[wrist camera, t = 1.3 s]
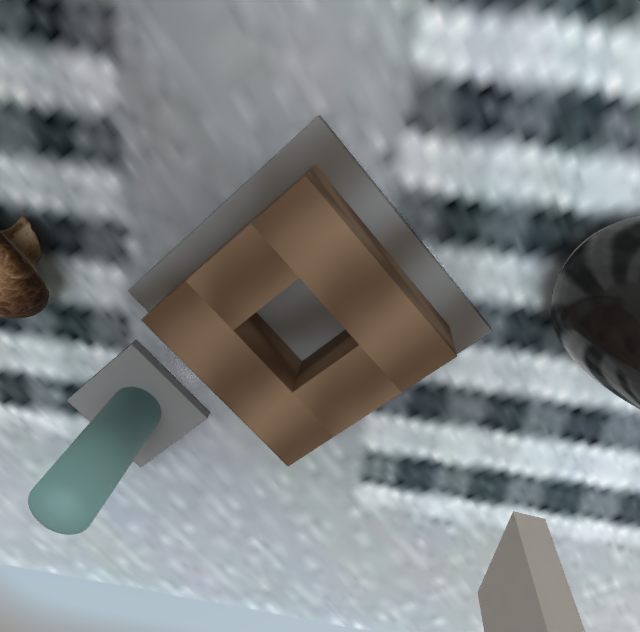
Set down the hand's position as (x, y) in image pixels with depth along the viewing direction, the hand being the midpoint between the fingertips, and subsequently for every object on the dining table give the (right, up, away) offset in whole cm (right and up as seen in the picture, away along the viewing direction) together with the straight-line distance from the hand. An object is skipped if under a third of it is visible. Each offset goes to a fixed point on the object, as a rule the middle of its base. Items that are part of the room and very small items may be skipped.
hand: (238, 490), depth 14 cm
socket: (+1, +5, +25) cm, 26 cm away
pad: (-12, -3, +30) cm, 33 cm away
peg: (-12, -3, +30) cm, 32 cm away
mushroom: (-20, +9, +27) cm, 34 cm away
